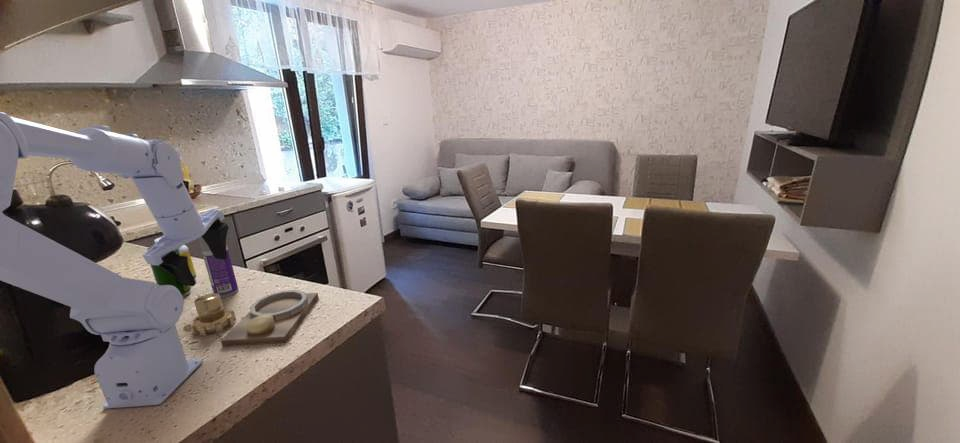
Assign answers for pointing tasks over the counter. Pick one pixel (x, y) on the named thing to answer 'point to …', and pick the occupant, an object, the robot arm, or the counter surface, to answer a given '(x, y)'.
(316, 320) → the counter surface
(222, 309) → the planet gear
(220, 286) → the container
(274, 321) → the carrier board
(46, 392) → the counter surface
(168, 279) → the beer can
